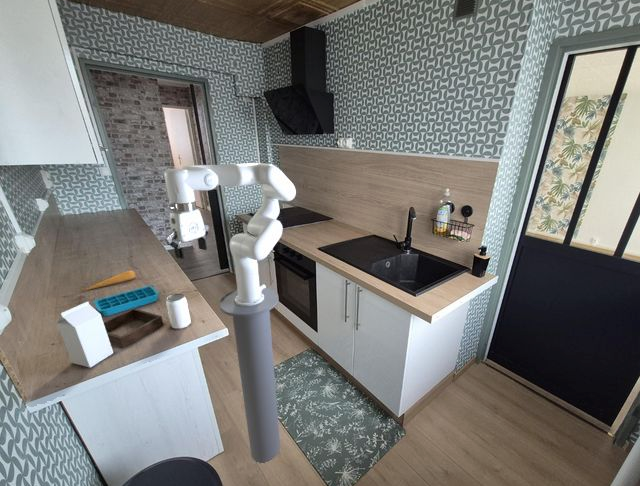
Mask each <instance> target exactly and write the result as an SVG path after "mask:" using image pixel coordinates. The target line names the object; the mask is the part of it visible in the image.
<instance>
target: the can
mask: <svg viewBox="0 0 640 486" xmlns="http://www.w3.org/2000/svg"><path fill="white" fill-rule="evenodd" d="M165 304H166V309H167V314H168V318H169V322H170V326H171V328H172V329H174V330H181V329H185V328H187V327H189V326H190V325H191V323H192V321H191V320H192V319H191V315H190V310H189V304H188V300H187V297H185V294H183V293H174V294H171V295H168V296H167V297H166V301H165Z"/></svg>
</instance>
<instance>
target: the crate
mask: <svg viewBox="0 0 640 486" xmlns="http://www.w3.org/2000/svg"><path fill="white" fill-rule="evenodd" d="M134 319H137V320H140V321H144V322H146V323H144V324H142V325H139V326H138V327H135V328H134V329H132V330H131V331H129V332H127V333H125V334H123V335H122V336H121V335H118V334H115V333H111V332H110V331H112V330H114V329H116V328H119V327H120V326H123V325H125V324H126V323H128V322H130V321H133V320H134ZM103 323H104V326H105V329H106V332H107V335H108V338H109V341H110V344H111V345H113V346H116V347H119V348H122V349H124V348H126V347H128V346H130V345H131V344H133V343H135V342H137V341H138V340H140V339H142V338H144V337H145V336H147V335H149V334H151V333H153V332H154V331H156V330H157V329H159V328H161V327H162V326H164V321H163V317H162V315H159V314H155V313H153V312H148V311H146V310H141V309H139V308H136V307H134V308H131V309H128V310H125V311H123V312H122V313H120V314H118V315H115V316H113V317H111V318H109V319H107V320H104V321H103Z"/></svg>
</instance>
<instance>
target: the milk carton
mask: <svg viewBox="0 0 640 486" xmlns="http://www.w3.org/2000/svg"><path fill="white" fill-rule="evenodd" d="M89 302H90V301H85V302H83V303H81V304H79V305H76V306H73V307H72V308H69V309H67V310H64V311H62V312H60V316H61V317H60V318H59V319H58V320H57V322H55V323H56V326H57V328H58V331H59V333H60V336H61V338H62V341H63V344H64V346H65V349H66V351H67V353H68V356H69V358H70V361H71V363H72V364H75V365H79V366H83V367H86V368H92V367H95V366H96V365H97V364H99V363H100V362H101V361H103V360H105V359H107V358H108V357H109V356H112V355H113V354H114V351H113V347H112V344H110V341H109V338H108V335H107V332H106V329H105V326H104V323H103V322H104V321H103V317H102V313H101V312H99V311H98V310H97V309H96V308H95V307H93V306H92V305H91V304H90V303H89Z"/></svg>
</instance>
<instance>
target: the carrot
mask: <svg viewBox="0 0 640 486" xmlns="http://www.w3.org/2000/svg"><path fill="white" fill-rule="evenodd" d="M136 276H137V275H136V273H135V271H133V270H126V271H124V272H122V273H120V274H119V273H118V274H117V275H115V276H112V277H109V278H108V279H105V280H103V281H101V282H98V283H95V284H93V285H92V286H89V287H87V288H86V289H83V290H82V292H83V291H88V290H89V291H90V290H93V289H98V288H102V287H106V286H111V285H115V284H119V283H122V282H127V281H130V280H133V279H135V278H136Z"/></svg>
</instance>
